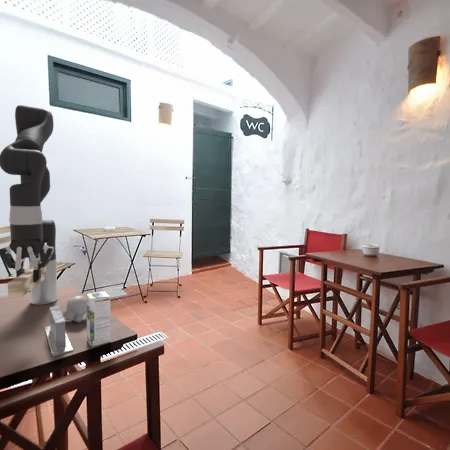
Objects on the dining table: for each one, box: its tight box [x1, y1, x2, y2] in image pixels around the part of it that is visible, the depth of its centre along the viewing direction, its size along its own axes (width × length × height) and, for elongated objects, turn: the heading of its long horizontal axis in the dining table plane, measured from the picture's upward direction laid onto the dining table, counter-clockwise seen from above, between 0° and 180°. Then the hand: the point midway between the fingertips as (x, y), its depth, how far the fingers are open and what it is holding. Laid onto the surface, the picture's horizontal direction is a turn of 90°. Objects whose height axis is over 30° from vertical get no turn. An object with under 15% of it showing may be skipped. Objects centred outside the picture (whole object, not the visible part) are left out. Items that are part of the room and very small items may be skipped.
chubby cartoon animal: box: [62, 295, 87, 323], centre depth 104 cm, size 7×12×8 cm, turn 129°
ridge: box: [44, 305, 74, 357], centre depth 89 cm, size 20×5×8 cm, turn 37°
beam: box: [7, 266, 46, 299], centre depth 84 cm, size 18×3×4 cm, turn 14°
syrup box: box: [86, 291, 112, 348], centre depth 88 cm, size 6×6×14 cm
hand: (29, 281), depth 84 cm, fingers closed on beam, 3 cm apart
